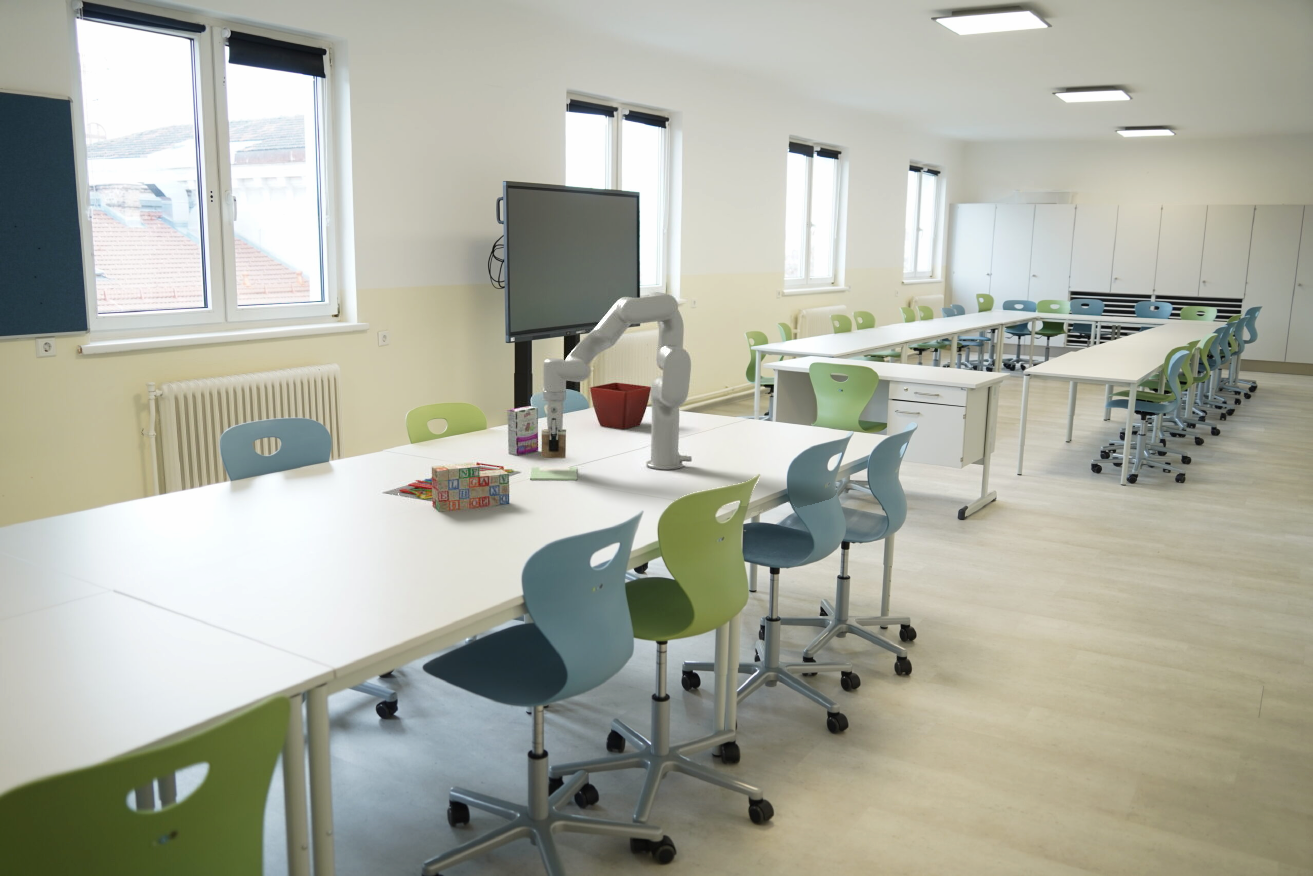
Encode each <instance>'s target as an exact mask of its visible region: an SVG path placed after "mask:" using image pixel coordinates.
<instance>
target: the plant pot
mask: <svg viewBox="0 0 1313 876" xmlns="http://www.w3.org/2000/svg"><path fill="white" fill-rule="evenodd" d="M589 389H590V397H591V400H592V401H591V402H592V405H593V409H594V412H595V415H596V418H597V421H598V424H599V426H600V427H604V428H611V429H619V430H627V429H630V428H634V427H635V428H636V427H637V426H638V427H639V426H641V424H642V421H643V419H644V416H645V413H646V411H647V406H648V403H649V399H650V397H651V386H650V385H649V386H648V385H641V384H633V383H623V382H610V383H604V384H599V385H594V386H590V387H589Z"/></svg>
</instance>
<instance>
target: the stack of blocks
mask: <svg viewBox="0 0 1313 876" xmlns="http://www.w3.org/2000/svg"><path fill="white" fill-rule="evenodd" d="M479 466H480V465H476V463H474V462H470V461H469V462H462V463H461V462H459V463H453V464H443V465H433V466H431V478H432V496H433V497H432V501H433V502H432V501H431V502H432V507H433V508H434V509H435V510H436V511H437V512H450V511H458V510H459V511H460V510H466V509H474V508H482V507H492V506H500V505H501V506H502V505H508V504H510V476H509V473H507V472H505V471H503V470H502V469H501V470H490V471H479Z"/></svg>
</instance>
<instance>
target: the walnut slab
mask: <svg viewBox="0 0 1313 876" xmlns="http://www.w3.org/2000/svg"><path fill="white" fill-rule="evenodd" d="M551 430H552V429H551ZM556 430H557V429H556ZM551 433H552V432H551ZM549 439H550V431H549V430H548V428H542V429H541V458H542V459H566V458H567V455H566V454H567V453H566V452H567V446H566V444H567V429H562V431H560V430H558V440H559V451H558V452H550V451H549Z"/></svg>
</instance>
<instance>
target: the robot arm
mask: <svg viewBox="0 0 1313 876" xmlns="http://www.w3.org/2000/svg"><path fill="white" fill-rule="evenodd" d="M655 322H657V325H658V340H657V341H658V342H657V349H656V357H655V358H656V359H655V361H656V365H657V366H658V368H659V369H660V370H661V371H662V375H660V376H658V377H656V378H655V379H654V380H653V382H652V383H651V386H650V387H651V390H650V401H651V434H650V435H651V436H650V437H651V441H650V459H649V460H647V461H646V463H645V465H646V467H648V468H650V469H654V470H664V471H665V470H666V471H667V470H668V471H669V470H678V469H681V468H682V467H683V462H687V463H688V462H689V463H690V462H692V458H693V457H692V456H690V455H681V454H680V452H679V439H680V438H679V437H680V436H679V435H680V431H679V430H680V407H681V406H682V405H684V404H685V402H686V401H687V399H688V395H689V390H690V381H691V370H692V361H691V356H690V354H689V352H688V351H687V350H686V349H684V332H685V328H684V326H685V325H684V321H683V317H682V314H681V313H680V311H679V303H678V300H677V299H676V297H674V296H673V295H672V294H668V293H664V292H653V293H650V294H649V295H648V296H644V297H643V296H642V297H630V296H622V297H621V298H619V299H617V301H616V302H615V303H613V305H612V306H611V307H610V309H609V310H608V311H607V313H606V314H605V315H604V316H603V317H602V318H601V320H599V322H598V324H596V326H595V327H594V328H593V329H592V330H591V331H590V332H589V333H588V334H587V335H585V337H584V338H582V339H581V340H580V341H579V342H578V343H577V344H576V346H575V347H574V348H573V349H572V350H571V352H570V353H569V354H568V355H567V357H566V358H565V360H564V359H563V358H562V359H561V358H547V359H545V360H544V361H543V365H542V366H543V367H542V368H543V369H542V373H543V374H542V375H543V376H542V380H543V382H542V389H543V390H542V393H543V394H542V401H544V402H546V425H547V426H546V427H547V429H548V430H549V431H550V439H549V451H550V452H558V451H559V440H558V430H560V431H562V429H563V426H564V423H563V422H564V421H563V420H564V419H563V418H564V407H563V405H564V404H563V402H566V401H567V400H566V399H567V395H566V394H567V382H568V381H569V382H575V383H581V382H582V383H583V382H584V381H586V380H588V378H590V376H591V371H592V370H591V366H590V364H591V362H592V361H593V360H594V359H595V358H596V357H597V356H598V355H599V354H601V353H602V352H604V351H606V350H608V349H610V348H611V347H613V346H614V345H615V344H616V343H617V341H619V339H620V338H621V337H622V336H623V334H624V333H625V332H626V331H627V329H629V327H630V326H631V325H638V324H639V325H640V324H647V323H655ZM551 429H552V430H551ZM556 429H557V430H556ZM551 432H552V433H551Z"/></svg>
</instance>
